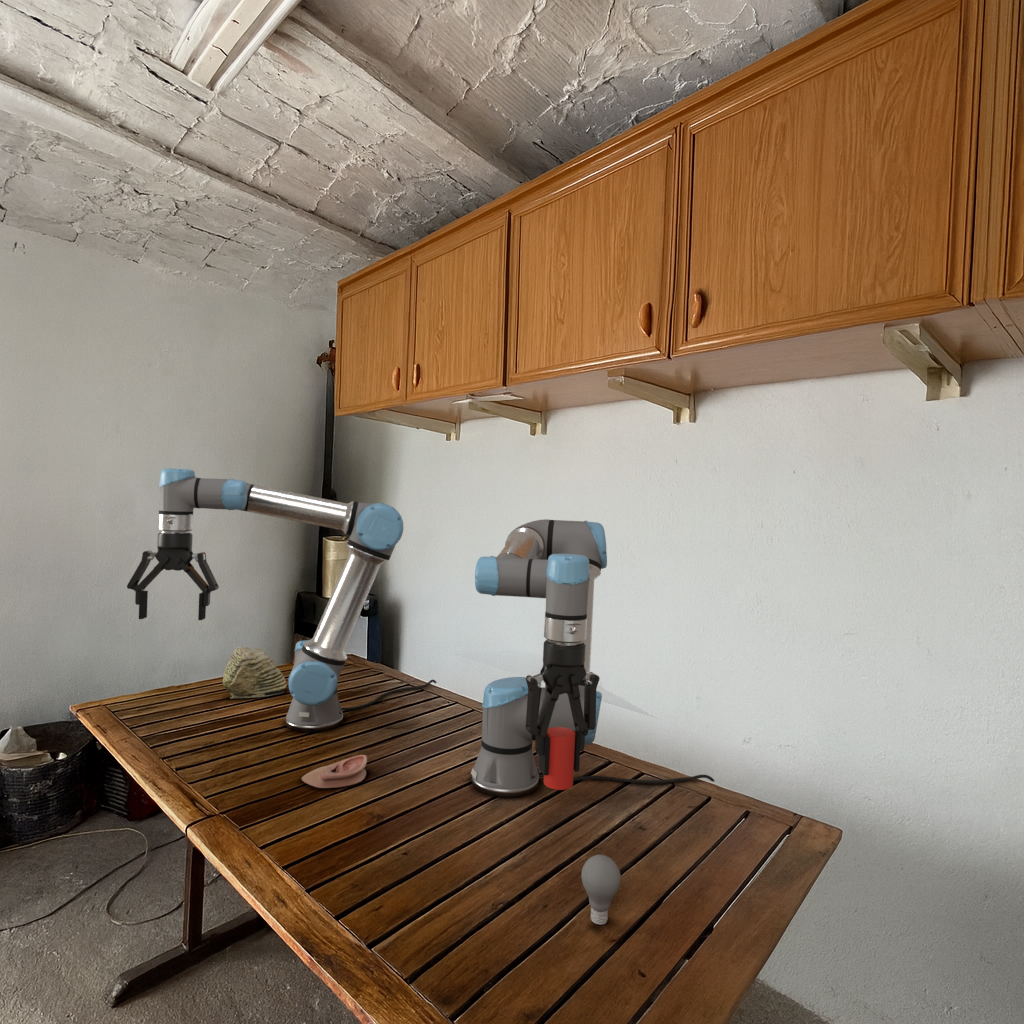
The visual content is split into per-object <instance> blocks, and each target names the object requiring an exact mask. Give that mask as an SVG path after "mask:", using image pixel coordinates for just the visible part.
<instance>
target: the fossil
mask: <svg viewBox="0 0 1024 1024" xmlns="http://www.w3.org/2000/svg"><path fill="white" fill-rule="evenodd" d="M222 676H223V677H222V685H223V687H224V688H225V690H226V691H228V693H229V698H230V699H250V698H264V697H271V696H275V695H281V694H284V693H285V691H286V689H287V687H288V686H287V680H286V678H285V676H284V674H283V673H282V672H281V669H279V668H278V667H277V665H276V663H275V662H274V660H273V659H272V658H271V657H270V656H269V655H268V654H267V653H266V652H265V650H264V649H263V648H260V647H258V648H251V647H247V646H246V647H245V646H238V647H237V648H236V649H235V650H233V651H232V653H231V656H230V657H229V659H228V660H227V663H226V666H225V668H224V671H223V675H222Z"/></svg>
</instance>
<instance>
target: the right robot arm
mask: <svg viewBox="0 0 1024 1024" xmlns="http://www.w3.org/2000/svg"><path fill="white" fill-rule="evenodd" d="M607 567H608V554H607V539H606V531H605V528H604V526H603V524H602V523H600V522H598V521H597V522H595V521H588V520H583V521H582V520H563V519H562V520H561V519H560V520H559V519H547V518H546V519H545V518H544V519H536V520H532V521H529V522H526V523H524V524H521V525H519V526H517V527H515V528H514V529H513V530H512V531H511V532H510V533H509V534H508V535H507V537H506V540H505V541H504V546H503V548H502V550H500V552H499V553H498V554H497V556H494V555H490V556H479V558H478V559H477V561H476V565H475V570H474V587H475V590H476V592H477V593H478V594H480V595H489V596H490V595H491V596H492V597H496V596H499V597H516V598H517V597H518V598H533V599H534V598H536V599H545V612H544V626H543V630H544V631H543V637H544V639H545V640H544V641H543V647H542V648H543V650H542V667H541V669H540V671H539V673H537V674H534V675H531V674H529V675H527V676H526V677H525V676H512V677H511V676H509V677H503V678H500V679H495V680H493V681H491V682H489V683H488V684H487V685H486V686H485V688H484V690H483V699H482V703H481V707H482V717H481V718H482V720H481V740H480V741H481V743H480V749H479V752H478V755H477V758H476V760H475V763H474V766H473V767H472V769H471V772H470V774H471V784H472V786H473V788H475V789H476V790H477V791H478V792H481V793H483V794H486V795H488V796H492V797H499V798H516V797H517V798H518V797H523V796H526V795H529V794H531V793H533V792H534V791H536V790H537V789H538V787H539V781H540V779H539V778H543V779H544V775H548V772H549V750H550V738H549V737H548V736H547V735H546V734H547V730H548V729H549V728H552V727H564V728H568V729H571V730H573V731H574V732H575V753H574V773H579V772H580V763H581V762H580V761H581V752H584V751H585V746H589V745H592V744H593V742H594V741H595V738H596V735H597V728H598V722H599V716H600V710H601V704H602V698H603V693H602V692H601V691H599V690H597V689H598V685H599V683H600V676H599V675H598V674H596V673H595V672H593V671H591V661H592V660H591V659H592V640H593V639H592V638H593V619H594V618H593V617H594V597H595V596H594V595H595V580H596V579H598V578H599V577H600V576H601V575H602V570H603V569H606V568H607ZM542 682H543V683H544V684H545V686H543V687H542ZM533 741H534V750H535V753H536V755H538V767H537V763H536V760H535V756H534V751H533ZM539 771H540V772H541V773H539ZM697 779H707V780H709V781H710V782H713V783H714V782H716V780H715V779H714V778H713V777H712V776H710V775H708V774H697V775H694V776H693V775H692V776H686V777H677V778H669V779H636V778H635V779H631V778H621V777H613V776H608V775H607V776H606V775H586V776H584V775H583V776H577V777H573V782H579V781H585V780H606V781H614V782H622V783H632V784H633V783H634V784H652V785H653V784H655V785H656V784H671V783H677V782H686V781H694V780H697Z"/></svg>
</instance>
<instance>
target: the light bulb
mask: <svg viewBox="0 0 1024 1024" xmlns="http://www.w3.org/2000/svg"><path fill="white" fill-rule="evenodd" d="M621 875H622V874H621V871H620V868H619V867H618V865H617V863H616V862H615V861H614V860H613V859H612V858H611V857H609V856H608V855H605V854H595V855H592V856H590V857H589V858H588V859H587V860H586V861H585V862H584V864H583V866H582V869H581V875H580V877H581V883H582V886H583V888H584V890H585V892H586V894H587V896H588V902H589V905H590V920H591V922H593V923H594V924H596V925H601V926H602V925H606V924H607V922H608V918H609V917H608V914H609V908H610V906H611V903H612V900H613V898H614V897H615V895H616V894H617V892H618V891H619V889H620V885H621V880H622V876H621Z"/></svg>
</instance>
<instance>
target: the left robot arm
mask: <svg viewBox="0 0 1024 1024" xmlns="http://www.w3.org/2000/svg"><path fill="white" fill-rule="evenodd" d="M194 509H209V510H228V511H237V510H238V511H241V512H249V513H254V514H258V515H262V516H263V515H264V516H268V517H273V518H278V519H284V520H288V521H293V522H299V523H302V524H309V525H314V526H319V527H322V528H323V527H324V528H328V529H332V530H333V529H334V530H339V531H342V532H343V533H344V535H346V536H349V538H348V540H347V543H346V546H347V549H348V551H349V552H348V556H347V558H346V561H345V562H344V565H343V566H342V570H341V572H340V573H339V576H338V579H337V581H336V583H335V586H334V588H333V591H332V592H331V594H330V597H329V600H328V602H327V604H326V607H325V608H324V611H323V613H322V616H321V617H320V621H319V623H318V625H317V627H316V630H315V632H314V633H313V637H312V638H311V639H306V640H305V639H303V640H299V641H297V642H296V643H295V648H294V663H293V666H292V670H291V672H290V673H289V676H288V680H287V684H288V690H289V693H290V695H291V696H292V699H291V702H290V704H289V708H288V711H287V713H286V715H285V726H286V728H287V729H289V730H291V731H294V732H295V731H296V732H301V733H316V732H325V731H329V730H332V729H335V728H337V727H339V726H340V725H342V723H343V722H344V713H343V711H353V710H357V709H358V710H359V709H362V708H366V707H368V706H371V705H373V704H376V702H379V700H380V699H381V698H383V697H386V696H388V695H390V694H394V693H399V692H403V691H409V690H418V689H423V688H426V687H428V686H429V685H430V684H432V683H434V684H437V683H438V682H437V681H436V680H435V679H431V680H429V681H428V682H427V683H425V684H423V685H417V686H416V685H415V686H408V687H402V688H396V689H393V690H389V691H387V692H384V693H382V694H380V695H378V696H377V698H375V699H373V700H371V701H369V702H366V703H364V704H360V705H356V706H350V707H342V706H341V702H340V699H339V695H338V683H339V679H340V676H341V675H342V671H343V669H344V667H345V664H346V662H347V660H348V655H347V653H346V651H345V649H346V647H347V645H348V642H349V640H350V639H351V635H352V633H353V630H354V629H355V626H356V623H357V621H358V619H359V616H360V615H361V612H362V609H363V607H364V605H365V603H366V600H367V598H368V595H369V593H370V591H371V589H372V586H373V584H374V581H375V580H376V577H377V575H378V572H379V570H380V568H381V566H382V565H383V564H386V563H388V562H390V559H391V557H392V554H393V551H394V550H395V547H396V546H397V544H398V543H399V542H400V540H401V539H402V536H403V533H404V520H403V518H402V517H403V516H402V515H401V514H400V512H399V511H398V510H397V509H396V508H395V507H393V506H392V505H389V504H386V503H384V502H373V503H372V502H371V503H370V502H362V501H361V502H360V501H355V500H351V501H350V502H348V503H347V502H342V501H337V500H332V499H327V498H322V497H317V496H312V495H309V494H303V493H298V492H293V491H287V490H284V489H278V488H273V487H268V486H265V485H264V486H263V485H258V484H252V483H248V482H246V481H245V480H242V479H235V478H204V477H203V478H202V477H196V474H195V471H194V470H193V469H190V468H189V469H188V468H173V467H172V468H170V467H168V468H163V469H162V470H161V471H160V475H159V485H158V521H157V531H159V532H158V533H157V543H156V544H157V547H156V548H157V550H156V551H152V550H151V549H150V550H145V551H143V552H142V556H141V561H140V562H139V563H138V565H137V567H136V569H135V571H134V573H133V574H132V576H131V577H130V579H129V581H128V583H127V585H126V588H127V589H129V590H133V591H134V593H135V597H134V598H135V599H134V604H135V605H136V606H138V620H143V619H146V618H147V617H148V598H149V597H148V595H149V590H146V588H147V587H148V586H150V584H151V583H152V582H153V581H154V580H155V579H156V578H157V576H158V575H160V574H161V572H162V571H163V570H165V571H172V570H173V571H178V572H179V571H183V572H184V573H186V574H187V575H188V576H189V578H190V579H191V580H192V582H194V584H195V585H196V586H197V588H198V589H200V591H201V592H200V593H199V594H198V616H197V617H198V619H197V621H203V620H205V619H206V613H207V612H206V609H207V607H208V606H210V605H211V593H212V592H214V591H217V590H218V589H219V588H220V586H219V584H218V582H217V580H216V578H215V576H214V574H213V572H212V570H211V567H210V565H209V563H208V560H207V554H206V552H204V551H201V552H198V553H197V552H196V553H194V552H193V537H194V536H193V533H191V532H192V531H193V530H194ZM154 559H155V560H157V562H158V563H157V564H156V565H155V566H154V567H153V569H152V570H151V571H150V572H149V573H148V574H147V575H146V576H145V577H144V578H143V576H144V575H145V572H146V571H147V569H148V567H149V565H150V563H151V562H152V561H153V560H154ZM192 560H195V562H197V564H198V566H199V568H200V571H201V572H202V575H203V577H204V578H203V577H202V575H200V573H199V572H198V571H197V570H196V569H195V566H194V565H193V564H192V563H191V562H192ZM142 578H143V579H142ZM141 579H142V580H141Z"/></svg>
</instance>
